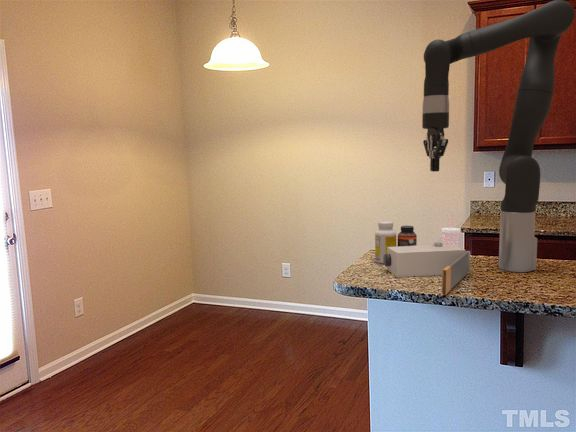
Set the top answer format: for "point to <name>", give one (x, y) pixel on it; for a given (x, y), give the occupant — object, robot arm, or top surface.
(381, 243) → the supplement bottle
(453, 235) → the beverage cup
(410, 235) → the supplement bottle
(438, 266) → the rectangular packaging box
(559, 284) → the top surface
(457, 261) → the side door
